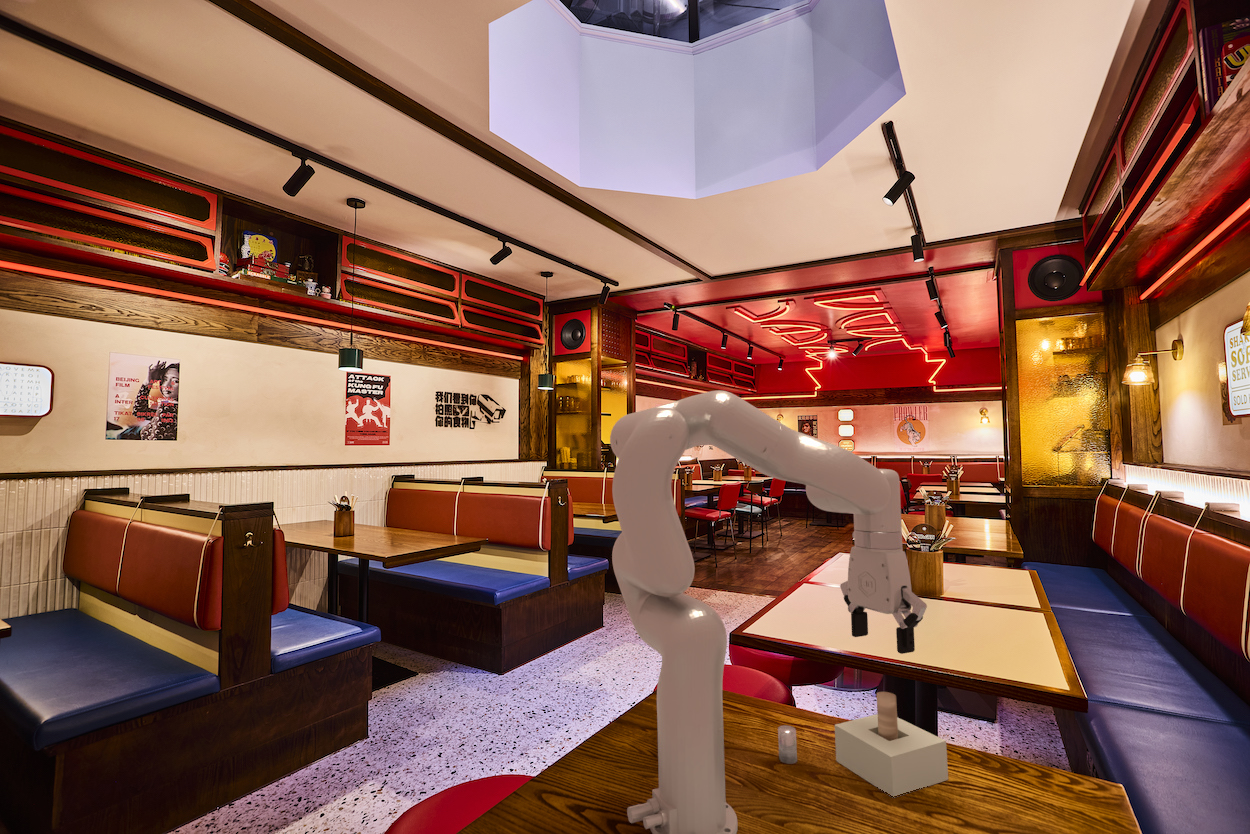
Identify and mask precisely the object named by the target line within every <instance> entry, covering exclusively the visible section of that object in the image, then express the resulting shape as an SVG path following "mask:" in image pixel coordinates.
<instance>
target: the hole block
mask: <svg viewBox="0 0 1250 834" xmlns="http://www.w3.org/2000/svg"><path fill="white" fill-rule="evenodd" d="M897 725H898V739H895V740H892V741H888V740H886V739H884V738H883V737H881V736H879V735H878V714H877V713H876V714H873V715H868V716H865V717H860V718H856V719H853V720H848V721H844V722H841V723H835V724H834V740H835V741H834V744H835V761H836V762H837V763H838V764H839V765H840V764H841V765H842V766H843V767H845V768H846V769H848V770H849V771H851V772H853V773H854V774H856V775H858V776H859V777H860V778H862V779H863V780H864V781H866V782H868V783H869V784H871V785H873V786H874V787H875V788H877V787H878V788H877V789H878V790H880V789H881V790H880V791H882V790H883V791H884V793H885V792H887V793H888V794H890V795H891V796H893V797H894V796H897V795H900V794H903V793H906V792H909V793H911V792H910V791H913V790H916V789H919V788H920V789H919V790H922V789H924V788H923V787H925V788H927V786H928V787H930V786H933V785H936V784H939V783H943V782H945V781H949V768H948V751H947V750H948V749H947V741H946V739H943V738H941V737H939V736H937V735H935V734H933V733H931V732H929V731H926V730H925V729H922V728H920V727H919V726H916V725H914V724H912V723H910V722H908V721H906V720H904V719H902V718H899V716H897ZM921 788H922V789H921ZM883 791H882V792H883ZM916 791H917V790H916ZM913 792H914V791H913ZM888 794H887V795H888ZM906 794H907V793H906ZM890 795H889V796H890ZM903 795H904V794H903ZM891 796H890V797H891ZM900 796H901V795H900ZM893 797H892V798H893ZM897 797H898V796H897ZM894 798H895V797H894Z"/></svg>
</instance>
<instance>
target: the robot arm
mask: <svg viewBox="0 0 1250 834" xmlns="http://www.w3.org/2000/svg"><path fill="white" fill-rule="evenodd" d="M609 440H610V441H609V443H610V447H611V450H612V453H613V454H614V456H615V457H616V458H617V459H618V460H617V463H616V466H615V469H614V473H613V477H612V488H611V490H612V500H613V505H614V509H615V513H616V516H617V519H618V521H619V527H620V530H621V533H620V534H619V535H618V537H617V538H616V540H615V542H614V545H613V547H612V554H611V556H612V557H611V559H612V560H611V561H612V567H613V572H614V575H615V578H616V581H617V584H618V587H619V590H620V592H621V595H622V598H623V601H624V604H625V606H626V610H627V611H628V612H627V613H628V615H629V618H630V620H631V622H632V625H633V627H634V630H635V631H636V633H637V635H638V637H640V639H641V640H642V641H643V642H644V643H645V644H646V645H648V646H649V647H650V648H652V649H653V650H655V651H656V652H657V653H658V654H659V655H660V656H661V667H660V672H659V676H658V680H657V688H656V713H657V715H656V721H657V759H658V762H657V766H658V770H657V771H658V787H657V788H654V789H652V791H651V792H652V795H651V797H652V798H648V799H647V800H646V802H645V803H638V804H635V805H631V806H628V807H627V808H626V813H627V814H626V815H627V819H628V822H629V823H631V824H634V823H637V822H642V823H643V827H644V829H645V830H648V829H649V830H650V832H651V833H652V834H737V832H738V827H739V825H738V817H737V814H736V811H735V810H734V809H733V807H732V806H731V805H730V804H729V803H727V801H726V799H727V798H726V772H725V769H726V767H725V744H724V743H725V742H724V741H725V739H724V738H725V737H724V736H725V735H724V710H723V709H724V707H723V703H724V702H723V682H724V681H723V679H724V678H723V676H724V668H725V662H726V661H725V660H726V655H727V649H728V648H727V646H728V637H727V636H728V635H727V630H726V626H725V624H724V621H723V619H722V618H721V616H720V615H719V614H718V612H717V611H716V610H715V609H714V608H713V607H712V606H710V605H709V604H708V603H705V602H704V601H702V600H700V599H698V598H695V597H694V596H690V595H689V594H685V592H686V591H687V590H688V589H689V588H690V587H691V585H692V583H693V580H694V577H695V571H696V570H695V569H696V568H695V561H694V557H693V553H692V551H691V547H690V545H689V542H688V540H687V537H686V534H685V531H684V528H683V525H682V523H681V520H680V517H679V515H678V511H677V508H676V505H675V501H674V497H673V493H672V492H673V491H672V483H673V476H674V472H675V469H676V468H677V465H678V463H679V462H680V460H681V458H682V456H683V455H684V453H685V451H686V450H689V449H693V448H695V447H698V446H713V447H715V448H717V449H719V450H721V451H723V452H724V453H726V454H728V455H729V456H732V457H733V458H734V459H736V460H738V461H740V462H741V463H743V464H745V465H747V466H749V467H750V468H752V469H754V470H755V471H758V472H759V473H760V474H762V475H765V476H768V477H770V478H774V479H777V480H780V481H786V482H791V483H796V484H802V485H804V486H805V492H806V496H807V499H808V501H809V502H810V503H811V504H812V505H813V506H815V507H816V508H818V509H819V510H821V511H825V512H831V513H839V514H853V530H854V531H853V532H852V534H851V535H852V538H853V539H854V546H851V549H850V553H849V558H848V560H849V561H848V567H847V568H848V570H847V571H848V572H847V580H846V581H844V582H842V583H840V585H839V586H840V589H841V592H842V596H843V600H844V602H845V604H846V605H847V611H848V612H849V613H850V619H851V621H850V622H851V636H852V637H853V638H858V637H866V636H868V635H869V625H868V624H869V621H868V612H867V611H865V610H866V609H867V610H870V611H874V612H878V613H881V614H885V615H891V614H892V616H893V617H894V619H895V621H896V622H897V624H898V626H899V627H896V628H895V629H896V630H895V631H896V633H895V634H896V652H897V653H898V654H900V655H902V654H908V653H914V652H915V649H916V647H915V629H914V628H917V627H918V625H919V623H921V621H922V620H923V618H924V614H925V613H926V610H927V608H928V605H927V603H926V602H925V601H923V600H922V598H920V597H919V596H917V595H916V594H915V593H914V592H913V591H912V584H911V581H912V580H911V574H910V569H909V565H908V563H909V562H908V559H907V558H908V557H907V554H906V552H905V550H904V551H903V531H902V511H901V510H902V509H901V508H902V507H901V486H900V485H901V484H900V483H901V481H900V476H899V473H898V472H897V471H895V470H893V469H889V468H888V469H887V468H877V467H876V466H874V465H873V464H871V463H870V462H868V461H867V460H865V459H864V458H862V457H860V456H859V455H858V454H855V453H853V452H851V451H850V450H848V449H846V448H843V447H841V446H838V445H836V444H833V443H831V442H827V441H824V440H821V439H819V438H816V437H814V436H811V435H809V434H805V433H804V432H801V431H800V432H799V431H796V430H795V429H792V428H790V427H788V426H787V425H785V424H783V423H781V422H780V421H779V420H777V419H775V418H773V417H772V416H770V415H769V414H768V413H767V414H766V412H763V411H762V410H761V409H759V408H758V407H755V406H754V405H752V404H751V403H749V402H748V401H746V400H744V399H743V398H742V397H740V396H738V395H736V394H734V393H733V392H729V391H726V390H719V389H718V390H711V391H707V392H703V393H698V394H695V395H691V396H688V397H684V398H682V399H679V400H676V401H673V402H669V403H665V404H662V405H657V406H655V407H651V408H647V409H643V410H639V411H636V412H632V413H628V414H625V415H623V416H622V417H620V418H619V419H618V420H617V421H616V422H615V423H614V425H613V427H612V429H611V431H610V436H609Z"/></svg>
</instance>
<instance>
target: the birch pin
mask: <svg viewBox="0 0 1250 834" xmlns="http://www.w3.org/2000/svg"><path fill="white" fill-rule="evenodd" d="M897 705H898V704H897V695H896V694H894V693H893V692H890V691H889V692H888V691H878V692H876V708H877V709H876V710H877V711H876V714H878V735H879V736H881V737H883V738H884V739H886V740H888V741H892V740H895V739H898V725H897V717H898V711H897V710H898V708H897Z"/></svg>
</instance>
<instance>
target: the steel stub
mask: <svg viewBox="0 0 1250 834" xmlns="http://www.w3.org/2000/svg"><path fill="white" fill-rule="evenodd" d="M777 734H778V735H777V736H778V737H777V738H778V760H780V762H782V763H784V764H788V765H792V764H796V763H797V762H798V755H797V754H798V753H797V752H798V751H797V750H798V749H797V729H796V728H795V727H794V726H792V725H791V726H790V725H786V724H784V725H779V726H778V727H777Z"/></svg>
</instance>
